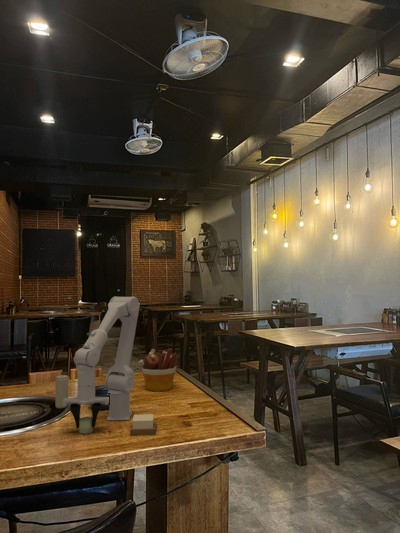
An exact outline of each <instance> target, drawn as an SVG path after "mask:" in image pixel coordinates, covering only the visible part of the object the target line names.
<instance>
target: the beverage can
mask: <svg viewBox="0 0 400 533" xmlns="http://www.w3.org/2000/svg"><path fill="white" fill-rule="evenodd" d="M65 398H69V375H66V374H63V375H57V376H56V377H55V398H54V399H55V408H56V409H64V408H67V407H68V406H69V405H66V406H63V400H64V399H65Z"/></svg>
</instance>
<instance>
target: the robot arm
mask: <svg viewBox="0 0 400 533" xmlns="http://www.w3.org/2000/svg"><path fill="white" fill-rule="evenodd" d="M140 306H141V304H140V302H139V300H138V298H137V297H136V296H132V295H131V296H113V297H112V298H111V299H110V300H109V303H107V307H108V309H107V311H106V313H105V315H104V317H103V319H102V321H101V323H100V325H99V327H98V328H96V329H94V330H92V331H91V332H90V335H89V336H88V339H87V340H86V341H85V343H84V345H83V346H82V347H81V348H79V349H77V351H75V354H74V357H73V362H74V364H75V369H76V371H77V378H76V379H77V385H76V388H77V390H76V391H77V395H76V396H75V397H68V398H65V399H64V400H63V406H66V405H68V406H69V411H70V412H71V414H72V416H73V419H74V422H75V426H76V429H79V419H80V418H81V407H82V405H92V406H91V417H92V428H93V429H94V428H95V427H96V423H97V418H98V416H99V412H100V409H101V408H102V405H109V404H108V403H109V397H107V396H96V366H97V365H98V363H99V362H100V359H101V358H100V357H101V350H102V349H103V347H104V346H105V344H106V343H107V341H108V333H109V331H110V330H111V329H112V327H113V326H114V324H115V323H116V322H117V320H118V319H119V320H120V322H121V328H120V335H119V339H118V346H117V350H116V356H115V361H114V365H112V366H111V367H110V368H108V373H107V375H106V377H105V378H104V386H105V389H106V390H107V394H108V393H110V405H109V409H108V410H109V413H108V416H107V418H106V421H130V418H131V416H132V413H133V411H132V410H130V399H131V398H130V397H131V396H130V393H132V391H133V390H134V388H135V371H134V370H133V369H132V368H131V366H130V364H131V360H132V359H131V358H132V352H133V349H134V348H133V347H134V341H135V335H136V331H137V330H136V329H137V322H138V317H139V311H140Z"/></svg>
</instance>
